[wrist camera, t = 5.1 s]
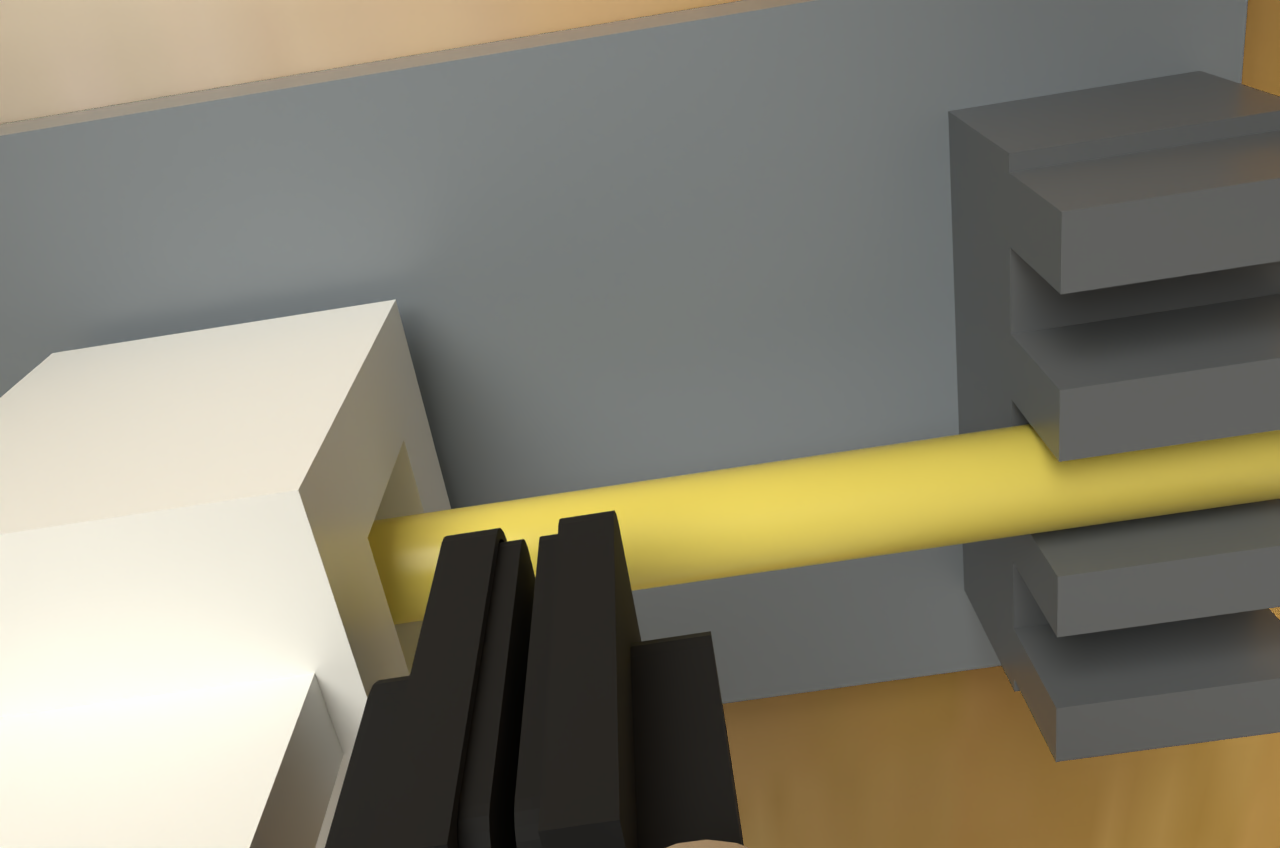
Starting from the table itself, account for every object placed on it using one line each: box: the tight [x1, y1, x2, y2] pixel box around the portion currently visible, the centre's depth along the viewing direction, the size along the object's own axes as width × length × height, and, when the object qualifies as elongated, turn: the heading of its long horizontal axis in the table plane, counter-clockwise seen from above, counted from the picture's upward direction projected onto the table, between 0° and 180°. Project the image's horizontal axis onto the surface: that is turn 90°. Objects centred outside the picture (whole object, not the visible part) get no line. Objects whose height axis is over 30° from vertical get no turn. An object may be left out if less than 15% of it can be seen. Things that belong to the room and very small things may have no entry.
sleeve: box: [0, 299, 451, 848], centre depth 12 cm, size 4×5×7 cm
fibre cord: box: [368, 424, 1280, 625], centre depth 13 cm, size 23×1×1 cm, turn 99°
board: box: [0, 0, 1280, 762], centre depth 14 cm, size 26×10×5 cm, turn 99°
